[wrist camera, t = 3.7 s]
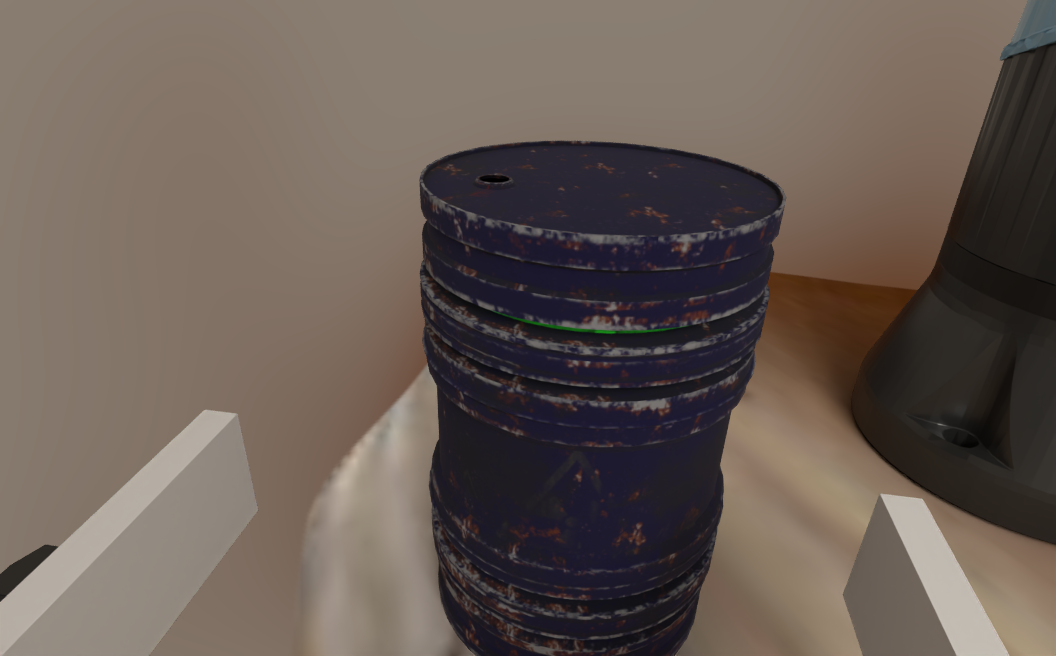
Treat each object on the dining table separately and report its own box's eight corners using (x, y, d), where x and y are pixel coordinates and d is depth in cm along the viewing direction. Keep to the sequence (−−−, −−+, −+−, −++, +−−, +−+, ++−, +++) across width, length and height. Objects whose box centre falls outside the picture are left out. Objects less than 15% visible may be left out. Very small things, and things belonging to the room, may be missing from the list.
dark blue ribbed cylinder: (651, 474, 29) (701, 139, 23) (750, 674, 21) (880, 232, 14) (430, 493, 28) (412, 140, 21) (439, 718, 19) (413, 244, 12)
